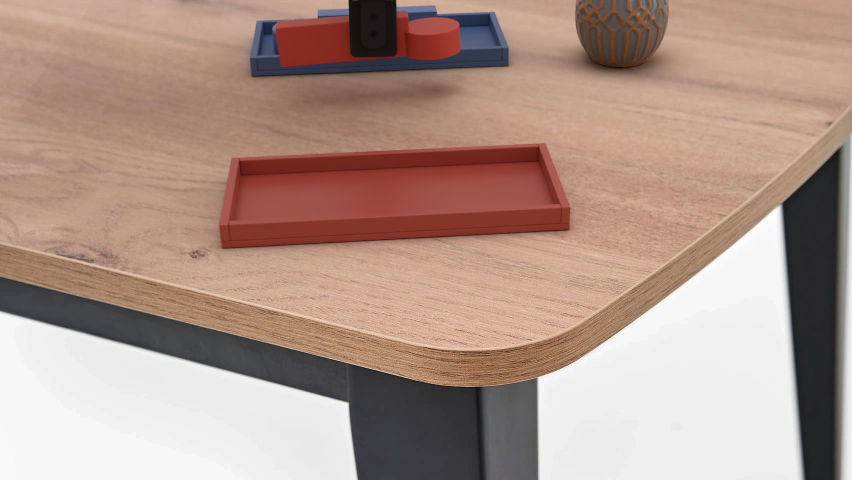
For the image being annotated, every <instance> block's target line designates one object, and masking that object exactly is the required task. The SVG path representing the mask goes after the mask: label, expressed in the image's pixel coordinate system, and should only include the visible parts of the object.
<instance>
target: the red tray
mask: <svg viewBox="0 0 852 480" xmlns="http://www.w3.org/2000/svg"><path fill="white" fill-rule="evenodd" d="M570 227H571V206H570V203H569V200H568V198H567V196H566V193H565V189H564V187H563V185H562V182H561V180H560V178H559V175H558V172H557V170H556V166H555V164H554V161H553V159H552V156H551V154H550V151H549V149H548V146H547V143H546V142H540V143H539V142H538V143H519V144H516V143H515V144H496V145H495V144H494V145H476V146H453V147H434V148H430V147H429V148H410V149H390V150H389V149H388V150H387V149H386V150H371V151H370V150H369V151H368V150H367V151H348V152H325V153H310V154H309V153H305V154H303V153H301V154H284V155H283V154H282V155H281V154H280V155H261V156H240V157H231V159H230V164H229V169H228V175H227V181H226V186H225V191H224V198H223V201H222V208H221V213H220V218H219V223H218V228H219V229H218V230H219V235H220V236H219V237H220V245H221V248H222V249H224V248H225V249H227V248H228V249H229V248H247V247H248V248H249V247H266V246H283V245H284V246H285V245H305V244H321V243H342V242H359V241H360V242H361V241H362V242H363V241H377V240H379V241H380V240H395V239H397V240H398V239H415V238H416V239H417V238H434V237H452V236H453V237H454V236H470V235H489V234H491V235H492V234H507V233H508V234H509V233H528V232H546V231H547V232H548V231H566V230H570Z"/></svg>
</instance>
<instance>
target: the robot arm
mask: <svg viewBox="0 0 852 480" xmlns="http://www.w3.org/2000/svg"><path fill="white" fill-rule="evenodd" d="M397 7H398V6H397V0H348V9H349V29H350V53H351V55H352V56H353V57H393V56H395V55H396V54H397Z"/></svg>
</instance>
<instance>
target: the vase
mask: <svg viewBox="0 0 852 480" xmlns="http://www.w3.org/2000/svg"><path fill="white" fill-rule="evenodd" d="M669 3H670V2H669V0H575V8H574V22H575V29H576V34H577V38H578V40H579V43H580V45H581V47H582V48H583V50H584V52H585V53H587V55H588V57H590V58H591V59H592V60H593V61H594V62H595V63H597V64H600V65H602V66H607V67H612V68H613V67H614V68H630V67H636V66H639V65H642V64H644V63H645V62H647V60H649V59H650V58H651V57H652V56H653V55H654V54H655V53H656V52H657V50H658V49H659V48H660V46H661V44H662V42H663V40H664V37H665V35H666V32H667V28H668V23H669V16H670V15H669V14H670V5H669Z"/></svg>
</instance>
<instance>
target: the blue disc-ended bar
mask: <svg viewBox="0 0 852 480" xmlns="http://www.w3.org/2000/svg"><path fill="white" fill-rule="evenodd" d="M397 11H407V14H408V21H409V22H410V21H413V20H417V19H422V18H431V17H437V14H438V10H437V6H436V5H435V4H433V5H409V6H408V5H406V6H397ZM337 16H349V8H330V9H326V8H325V9H317V18H325V17H337ZM302 19H303V18H291V20H302ZM285 20H286V21H290V20H287V19H285ZM272 32H273V43H274V51H275V52H276V53H277V54H279V50H278V43H277V36H276V24H275V25H274V26H273V28H272Z"/></svg>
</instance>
